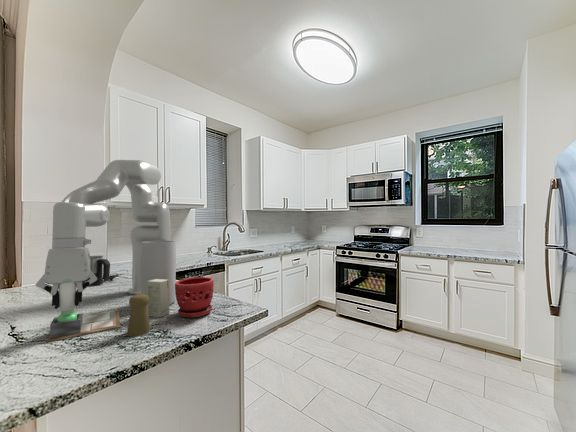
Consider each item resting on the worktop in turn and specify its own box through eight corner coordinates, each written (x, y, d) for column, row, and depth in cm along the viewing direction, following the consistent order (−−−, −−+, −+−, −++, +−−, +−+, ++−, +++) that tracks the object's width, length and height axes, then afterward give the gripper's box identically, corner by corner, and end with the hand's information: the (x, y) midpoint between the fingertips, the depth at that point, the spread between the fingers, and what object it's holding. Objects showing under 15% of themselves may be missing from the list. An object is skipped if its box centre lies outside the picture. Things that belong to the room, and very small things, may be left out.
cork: (133, 328, 80) (133, 292, 80) (153, 327, 81) (154, 291, 81) (122, 336, 74) (123, 298, 74) (144, 336, 75) (145, 297, 75)
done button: (77, 319, 79) (77, 311, 79) (76, 324, 76) (76, 315, 76) (58, 322, 77) (58, 314, 77) (56, 327, 73) (56, 318, 73)
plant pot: (212, 306, 102) (212, 275, 102) (214, 317, 89) (214, 282, 89) (176, 309, 97) (176, 277, 98) (172, 322, 85) (173, 285, 85)
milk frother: (77, 286, 133) (77, 257, 133) (94, 280, 148) (94, 254, 149) (108, 285, 135) (108, 257, 136) (121, 279, 151) (121, 253, 151)
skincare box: (169, 313, 93) (170, 279, 93) (160, 317, 89) (160, 282, 89) (156, 311, 95) (156, 278, 95) (146, 315, 91) (146, 280, 91)
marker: (77, 308, 79) (77, 275, 79) (75, 313, 76) (76, 279, 76) (59, 311, 77) (59, 277, 77) (57, 316, 74) (57, 280, 73)
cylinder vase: (132, 306, 101) (134, 242, 101) (157, 298, 113) (158, 240, 113) (158, 310, 97) (159, 243, 98) (181, 300, 109) (182, 240, 110)
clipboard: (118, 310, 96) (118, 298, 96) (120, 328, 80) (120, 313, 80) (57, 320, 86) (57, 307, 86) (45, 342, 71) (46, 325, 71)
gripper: (104, 242, 85) (102, 298, 84) (33, 244, 75) (31, 308, 75) (103, 243, 78) (102, 304, 78) (26, 246, 69) (24, 315, 68)
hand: (67, 305), depth 76 cm, fingers closed on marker, 4 cm apart
